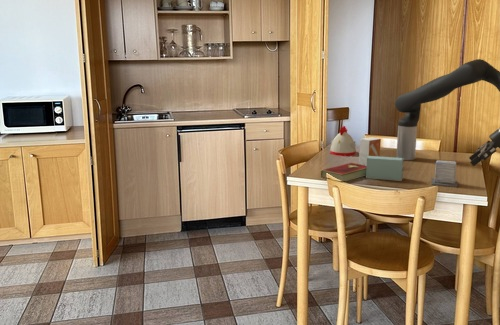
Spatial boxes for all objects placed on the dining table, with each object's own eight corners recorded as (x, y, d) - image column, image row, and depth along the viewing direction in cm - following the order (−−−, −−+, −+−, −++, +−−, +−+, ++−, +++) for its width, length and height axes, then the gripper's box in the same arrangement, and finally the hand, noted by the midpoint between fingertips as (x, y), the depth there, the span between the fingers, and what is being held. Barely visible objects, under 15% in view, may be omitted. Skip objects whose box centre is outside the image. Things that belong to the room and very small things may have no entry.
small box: (368, 167, 231) (369, 140, 228) (358, 164, 236) (359, 138, 233) (379, 164, 235) (381, 138, 232) (370, 162, 240) (371, 136, 237)
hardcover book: (320, 178, 213) (320, 169, 212) (350, 170, 226) (350, 161, 225) (341, 183, 204) (342, 174, 203) (371, 175, 217) (372, 166, 216)
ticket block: (367, 175, 215) (368, 155, 213) (402, 178, 210) (403, 157, 208) (366, 178, 210) (366, 157, 208) (401, 180, 205) (403, 160, 203)
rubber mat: (431, 179, 206) (431, 178, 206) (456, 181, 203) (456, 180, 203) (431, 185, 198) (431, 183, 198) (457, 187, 195) (457, 185, 195)
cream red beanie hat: (325, 154, 261) (326, 126, 257) (336, 149, 272) (337, 123, 268) (349, 157, 253) (350, 129, 249) (359, 152, 264) (360, 125, 260)
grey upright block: (454, 181, 201) (456, 161, 199) (454, 184, 197) (456, 163, 195) (434, 179, 204) (435, 160, 202) (434, 182, 200) (435, 162, 198)
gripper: (496, 126, 195) (463, 151, 202) (500, 131, 182) (465, 158, 189) (509, 139, 194) (476, 164, 201) (514, 145, 181) (479, 172, 188)
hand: (471, 162), depth 195 cm, fingers open, 8 cm apart
